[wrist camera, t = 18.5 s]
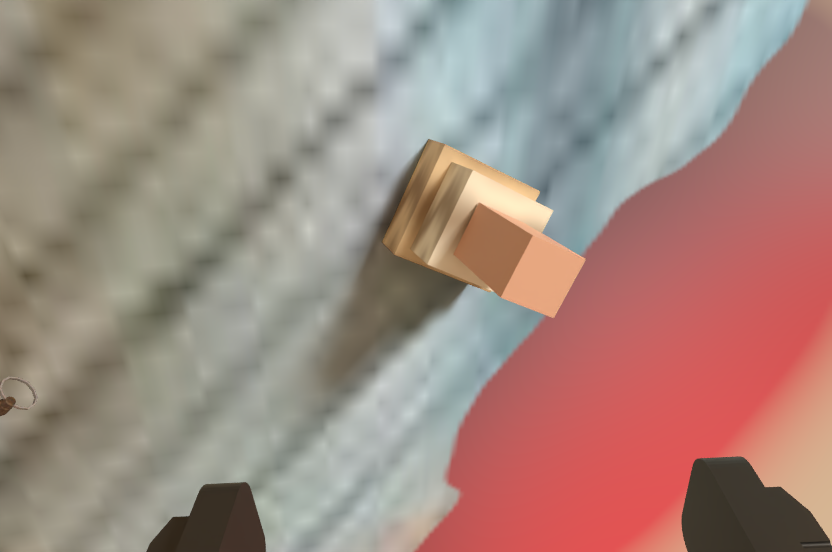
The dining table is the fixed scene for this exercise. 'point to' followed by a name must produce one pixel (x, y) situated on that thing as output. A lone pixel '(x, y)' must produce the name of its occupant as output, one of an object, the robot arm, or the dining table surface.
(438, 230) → the birch top slab
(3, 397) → the coffee pot
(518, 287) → the terracotta block
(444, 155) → the oak base slab
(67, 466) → the dining table surface
